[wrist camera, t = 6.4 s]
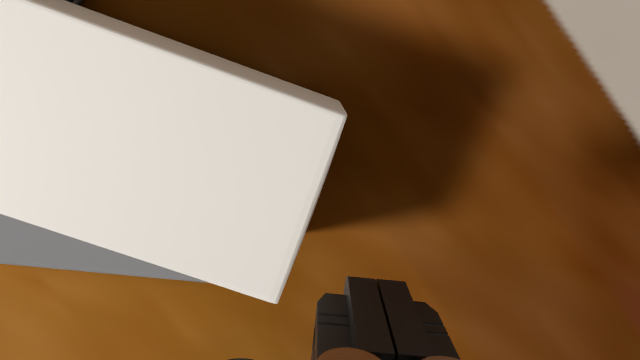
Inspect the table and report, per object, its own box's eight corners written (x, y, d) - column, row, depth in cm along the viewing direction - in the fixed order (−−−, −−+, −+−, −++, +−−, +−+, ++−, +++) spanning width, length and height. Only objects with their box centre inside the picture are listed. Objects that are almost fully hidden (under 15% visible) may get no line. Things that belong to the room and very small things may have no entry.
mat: (280, 83, 24) (279, 84, 23) (264, 283, 26) (263, 287, 25) (-70, 47, 23) (-78, 47, 23) (-56, 253, 25) (-64, 257, 25)
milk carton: (342, 101, 23) (-73, -51, 22) (353, 116, 16) (-257, -106, 15) (291, 240, 25) (-101, 106, 23) (281, 308, 18) (-280, 124, 16)
